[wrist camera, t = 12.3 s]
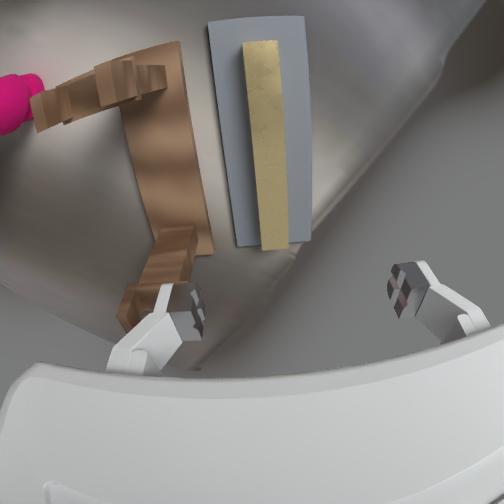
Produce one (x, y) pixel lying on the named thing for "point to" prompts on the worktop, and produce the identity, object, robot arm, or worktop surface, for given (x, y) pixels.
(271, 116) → the brass rail
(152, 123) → the stand
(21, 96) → the pepper mill
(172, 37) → the worktop surface
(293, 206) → the slate mat
